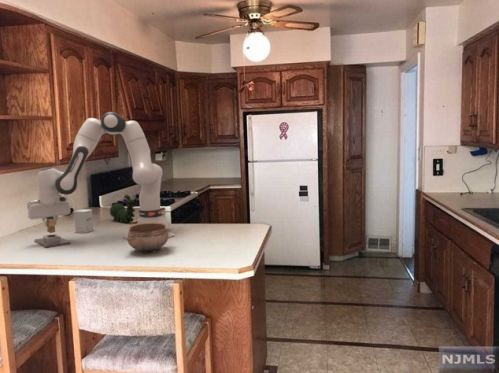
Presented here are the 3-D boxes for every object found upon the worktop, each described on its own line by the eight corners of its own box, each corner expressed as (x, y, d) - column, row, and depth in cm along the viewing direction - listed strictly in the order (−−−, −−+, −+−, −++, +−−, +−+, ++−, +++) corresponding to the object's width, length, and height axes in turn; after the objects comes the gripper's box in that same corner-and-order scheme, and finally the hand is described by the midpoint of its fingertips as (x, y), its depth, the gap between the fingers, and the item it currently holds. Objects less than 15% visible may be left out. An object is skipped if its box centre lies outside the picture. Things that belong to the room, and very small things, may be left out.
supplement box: (86, 233, 245) (85, 211, 244) (75, 232, 247) (73, 211, 245) (93, 230, 252) (92, 209, 251) (82, 230, 254) (80, 209, 252)
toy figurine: (138, 225, 272) (118, 217, 290) (138, 195, 269) (117, 189, 286) (125, 227, 265) (105, 219, 283) (124, 197, 262) (104, 190, 279)
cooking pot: (135, 260, 188) (133, 233, 186) (114, 252, 201) (113, 227, 200) (182, 249, 205) (180, 224, 203) (160, 242, 218) (159, 219, 217)
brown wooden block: (55, 232, 223) (54, 217, 222) (50, 232, 222) (48, 217, 221) (52, 230, 227) (51, 215, 226) (47, 231, 225) (46, 216, 224)
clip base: (70, 243, 221) (69, 237, 221) (45, 248, 213) (45, 241, 213) (58, 237, 236) (57, 231, 236) (34, 241, 228) (34, 235, 228)
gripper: (28, 202, 213) (30, 229, 215) (70, 197, 226) (72, 223, 228) (25, 200, 218) (27, 227, 219) (66, 196, 231) (68, 221, 233)
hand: (50, 225), depth 224 cm, fingers closed on brown wooden block, 2 cm apart
